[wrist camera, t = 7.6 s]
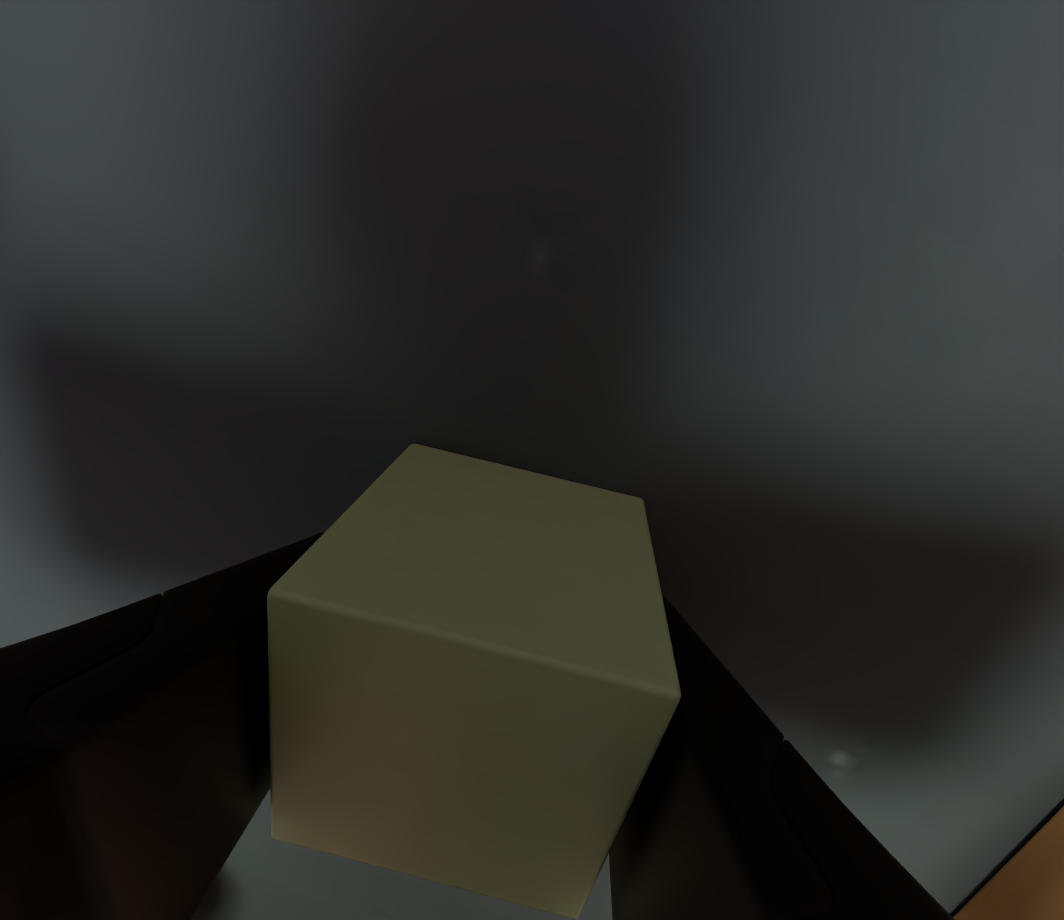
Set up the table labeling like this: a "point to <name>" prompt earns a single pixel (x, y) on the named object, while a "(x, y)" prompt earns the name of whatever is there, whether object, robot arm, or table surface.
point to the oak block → (1025, 881)
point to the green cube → (470, 679)
